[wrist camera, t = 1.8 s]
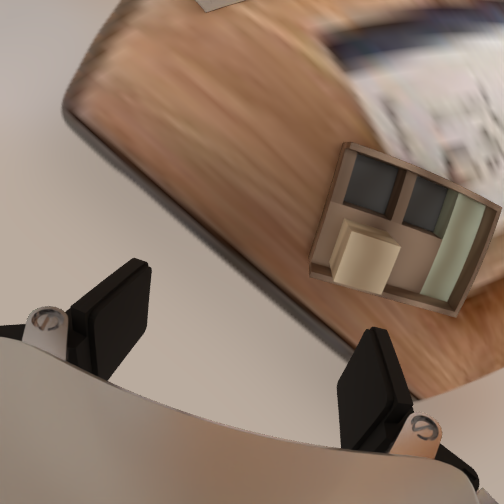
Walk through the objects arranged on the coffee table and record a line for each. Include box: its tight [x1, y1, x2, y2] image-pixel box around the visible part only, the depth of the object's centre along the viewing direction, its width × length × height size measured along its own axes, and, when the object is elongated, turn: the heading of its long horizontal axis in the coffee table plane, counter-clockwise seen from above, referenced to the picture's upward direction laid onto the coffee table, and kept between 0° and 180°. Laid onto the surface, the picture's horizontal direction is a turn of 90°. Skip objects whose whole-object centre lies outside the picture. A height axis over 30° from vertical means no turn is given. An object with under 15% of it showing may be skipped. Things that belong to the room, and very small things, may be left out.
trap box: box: [309, 142, 502, 317], centre depth 24 cm, size 15×11×4 cm
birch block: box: [329, 218, 401, 295], centre depth 23 cm, size 4×4×4 cm
